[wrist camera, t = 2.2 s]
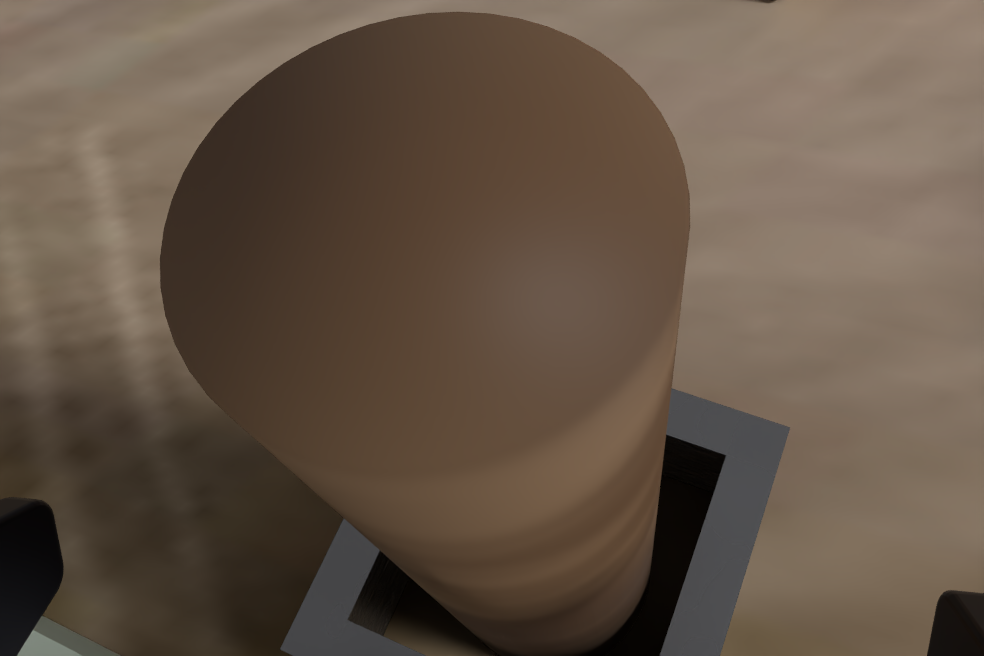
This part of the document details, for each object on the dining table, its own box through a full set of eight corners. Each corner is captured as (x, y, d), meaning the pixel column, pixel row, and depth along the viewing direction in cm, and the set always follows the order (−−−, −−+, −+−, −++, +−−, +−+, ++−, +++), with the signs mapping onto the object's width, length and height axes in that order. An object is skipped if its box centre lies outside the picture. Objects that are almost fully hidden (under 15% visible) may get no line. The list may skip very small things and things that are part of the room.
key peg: (609, 704, 17) (571, 564, 5) (420, 621, 18) (58, 359, 7) (676, 509, 18) (759, 71, 7) (498, 444, 20) (312, -27, 8)
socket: (660, 824, 16) (664, 833, 14) (322, 664, 18) (279, 649, 16) (770, 469, 19) (789, 427, 16) (463, 363, 21) (443, 313, 18)
